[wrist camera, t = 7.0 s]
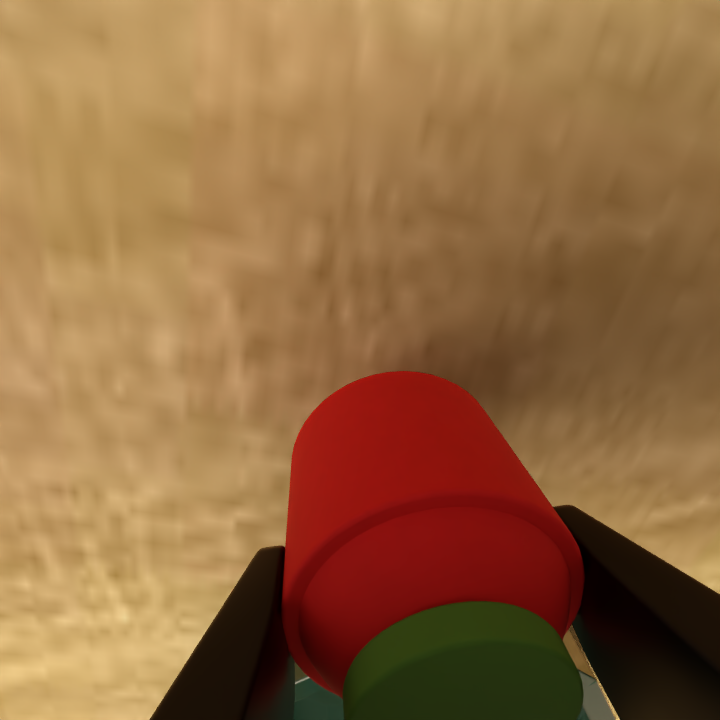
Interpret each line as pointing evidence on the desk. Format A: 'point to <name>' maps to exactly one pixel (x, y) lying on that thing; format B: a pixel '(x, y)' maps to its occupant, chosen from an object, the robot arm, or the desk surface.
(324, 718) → the ring
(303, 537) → the strawberry
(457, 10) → the desk surface
